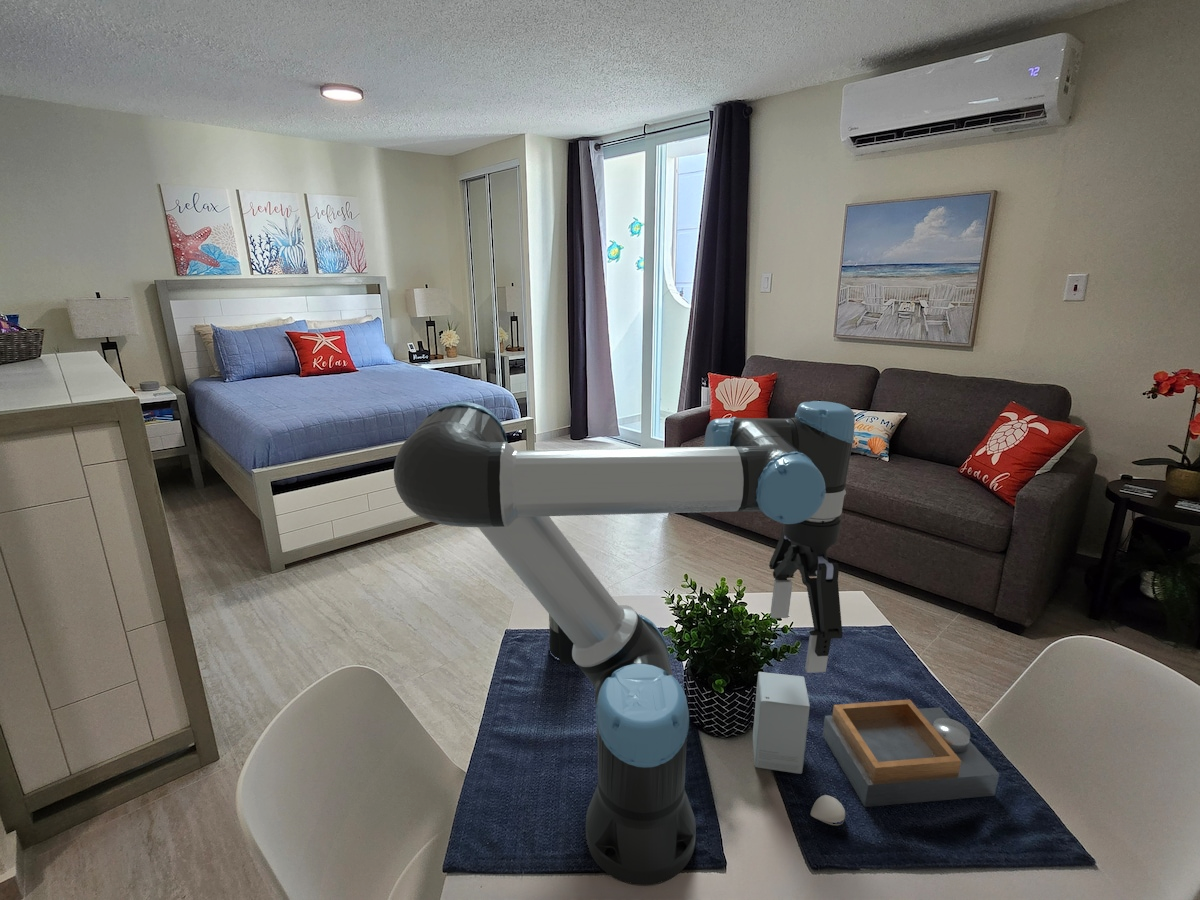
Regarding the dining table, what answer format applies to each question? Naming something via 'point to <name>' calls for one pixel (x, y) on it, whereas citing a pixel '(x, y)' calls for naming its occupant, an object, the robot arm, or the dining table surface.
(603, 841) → the robot arm
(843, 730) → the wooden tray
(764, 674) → the supplement box
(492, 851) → the dining table surface
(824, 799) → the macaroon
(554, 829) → the dining table surface
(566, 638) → the milk frother
